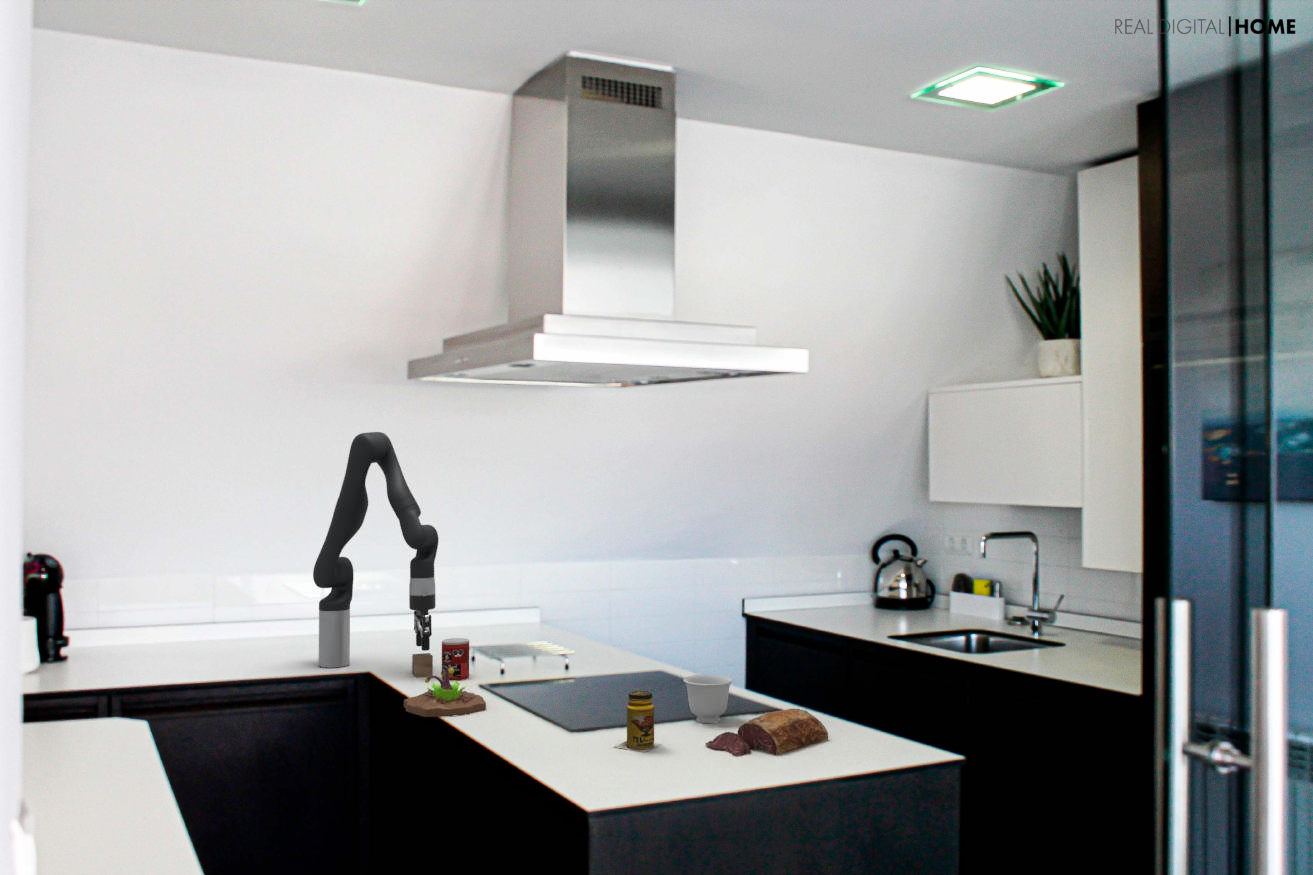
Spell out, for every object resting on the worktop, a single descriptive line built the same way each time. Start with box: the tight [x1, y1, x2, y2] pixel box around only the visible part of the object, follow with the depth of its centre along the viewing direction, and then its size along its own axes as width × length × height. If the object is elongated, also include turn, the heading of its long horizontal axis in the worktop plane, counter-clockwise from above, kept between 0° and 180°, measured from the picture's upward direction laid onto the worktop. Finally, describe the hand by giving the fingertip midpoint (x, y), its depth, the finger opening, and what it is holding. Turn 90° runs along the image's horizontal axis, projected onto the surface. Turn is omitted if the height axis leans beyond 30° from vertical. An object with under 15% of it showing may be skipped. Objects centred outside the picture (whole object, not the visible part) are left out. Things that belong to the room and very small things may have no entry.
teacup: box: [683, 674, 733, 724], centre depth 269 cm, size 12×15×10 cm
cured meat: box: [705, 708, 829, 757], centre depth 246 cm, size 18×25×7 cm
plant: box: [403, 666, 487, 718], centre depth 281 cm, size 20×20×11 cm
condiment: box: [613, 690, 662, 753], centre depth 244 cm, size 7×8×12 cm
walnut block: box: [411, 652, 434, 678], centre depth 324 cm, size 5×5×6 cm
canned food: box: [441, 637, 470, 681], centre depth 320 cm, size 8×8×11 cm
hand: (422, 648), depth 323 cm, fingers open, 8 cm apart
